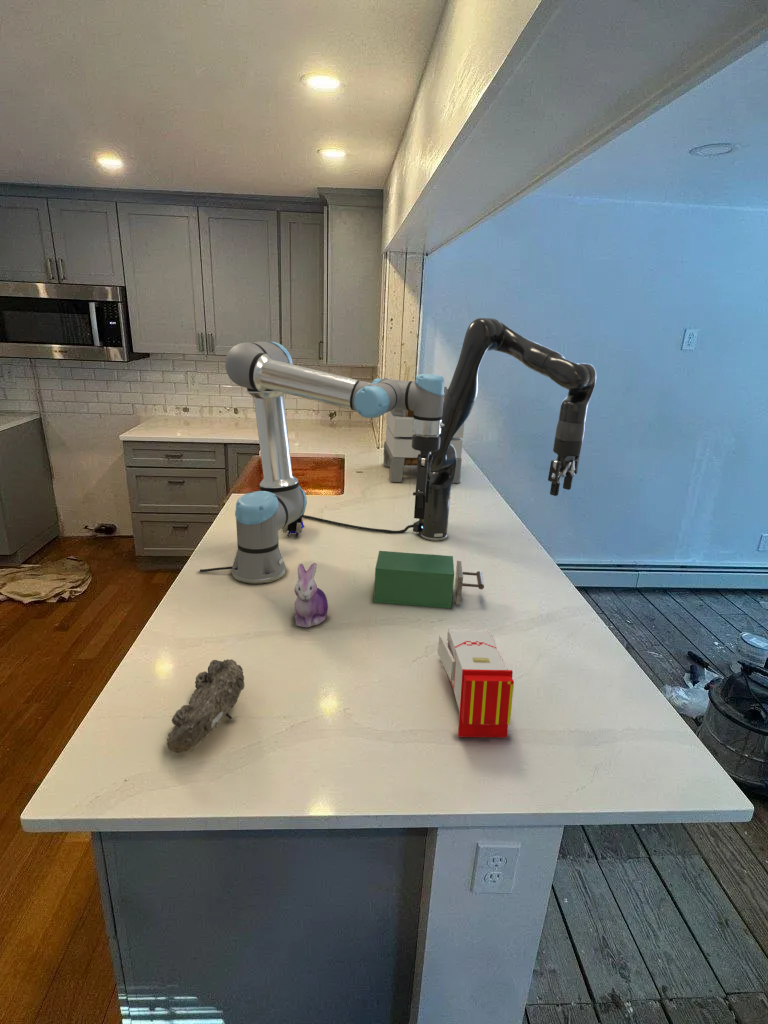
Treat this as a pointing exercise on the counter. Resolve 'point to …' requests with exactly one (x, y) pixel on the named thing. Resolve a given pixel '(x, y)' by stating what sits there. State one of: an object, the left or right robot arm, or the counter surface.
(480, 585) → the drawer
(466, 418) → the right robot arm
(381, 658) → the counter surface
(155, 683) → the counter surface
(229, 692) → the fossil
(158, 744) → the counter surface
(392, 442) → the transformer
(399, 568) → the cabinet
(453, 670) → the toy
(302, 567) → the figurine
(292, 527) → the figurine character
